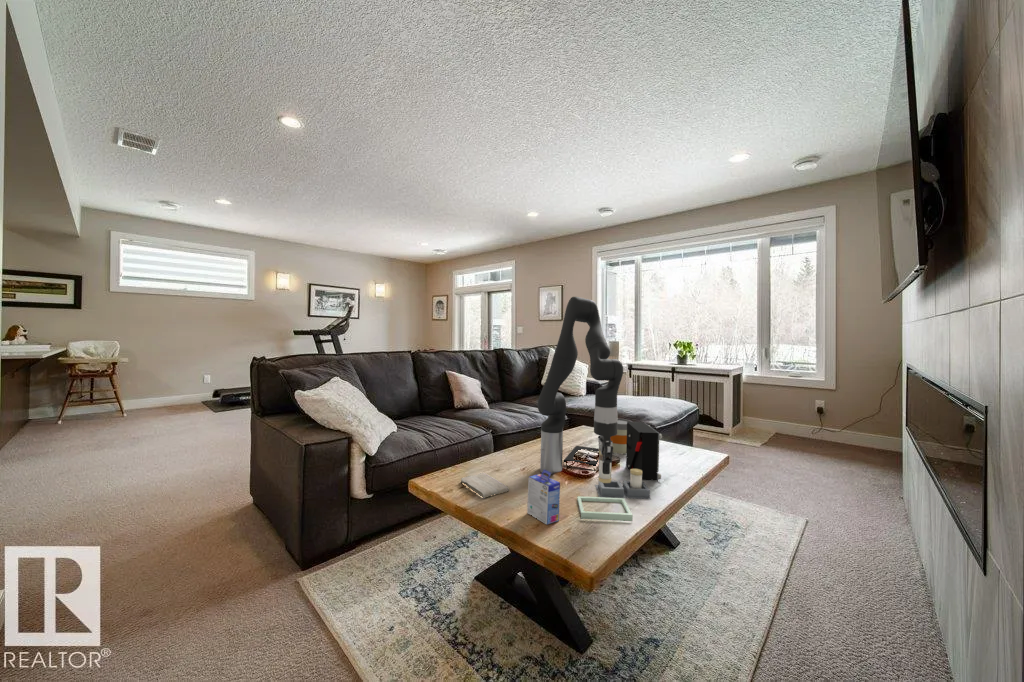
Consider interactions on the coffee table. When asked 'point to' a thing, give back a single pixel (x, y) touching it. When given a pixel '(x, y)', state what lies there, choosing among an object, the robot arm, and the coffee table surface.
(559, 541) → the coffee table surface
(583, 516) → the pale green rectangular frame
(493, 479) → the washcloth
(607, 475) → the fuse
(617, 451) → the reusable coffee cup
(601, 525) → the coffee table surface
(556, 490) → the ink cartridge box
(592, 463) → the dark grey flat frame
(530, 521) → the coffee table surface
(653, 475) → the electrical component
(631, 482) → the fuse block
